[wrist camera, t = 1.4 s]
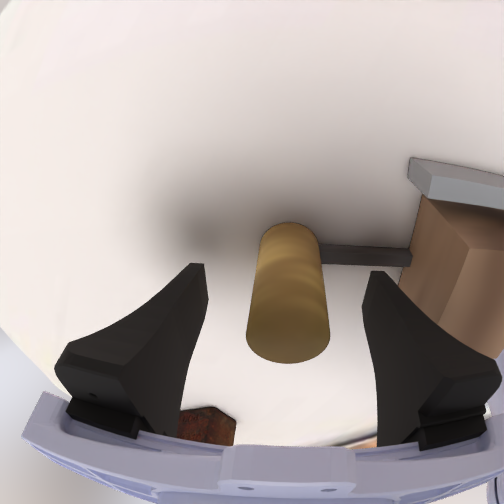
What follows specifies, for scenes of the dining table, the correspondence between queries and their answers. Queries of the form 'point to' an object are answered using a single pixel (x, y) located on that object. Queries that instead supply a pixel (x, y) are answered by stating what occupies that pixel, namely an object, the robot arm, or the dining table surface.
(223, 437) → the brick
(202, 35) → the dining table surface
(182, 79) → the dining table surface
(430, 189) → the rails
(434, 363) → the robot arm
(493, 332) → the wooden mallet
